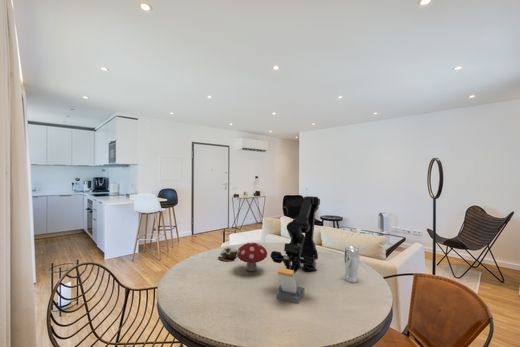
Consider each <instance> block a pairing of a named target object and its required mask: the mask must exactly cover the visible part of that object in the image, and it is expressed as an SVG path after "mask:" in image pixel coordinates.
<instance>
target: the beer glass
mask: <svg viewBox="0 0 520 347" xmlns="http://www.w3.org/2000/svg"><path fill="white" fill-rule="evenodd" d="M343 262H344V269H345V275H344V280H345V281H346V282H348V283H355V284H356V283H358V282H359V277H358V272H359V271H358V270H359V266H360V249H359V248H358V247H356V246H355V247H353V246H345V247H344V252H343Z"/></svg>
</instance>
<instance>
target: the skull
mask: <svg viewBox="0 0 520 347" xmlns="http://www.w3.org/2000/svg"><path fill="white" fill-rule="evenodd" d="M237 251H238V249H237V248H236V247H234V246H233V245H226V246H225V247H223V250H222V251H220V254H219V255H218V259H219V260H220V261H223V262H228V263H229V262H235V260H236V259H237V258H238V256H237Z"/></svg>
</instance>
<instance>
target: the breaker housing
mask: <svg viewBox="0 0 520 347" xmlns="http://www.w3.org/2000/svg"><path fill="white" fill-rule="evenodd" d="M296 287H297V294H294V293H290V292H286V291H282V288H281V284H280V285H279V286H278V291H277V293H276V300H280V299H281V300H280V301H284V302H288V303H293V304H297V305H299V303H300V301H301V300H302V298H303V296H304V295H305V289H306V288H305V287H303V286H298V285H296Z"/></svg>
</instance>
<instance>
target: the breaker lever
mask: <svg viewBox="0 0 520 347" xmlns="http://www.w3.org/2000/svg"><path fill="white" fill-rule="evenodd" d="M277 275H278V278H279V281H280V282H279V283H280V285H281V288H282V291H286V292H290V293H294V294H297V287H296V286H297V282H296V276H295V273H294V270H289V269H286V268H282V267H278V270H277Z"/></svg>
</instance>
